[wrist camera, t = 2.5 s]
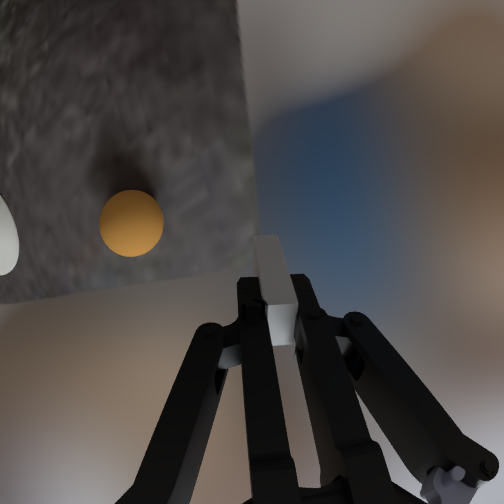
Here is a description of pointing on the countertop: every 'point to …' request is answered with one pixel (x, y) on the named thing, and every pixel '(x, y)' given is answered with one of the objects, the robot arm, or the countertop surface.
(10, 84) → the countertop surface
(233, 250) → the countertop surface
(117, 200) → the ball
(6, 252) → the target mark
